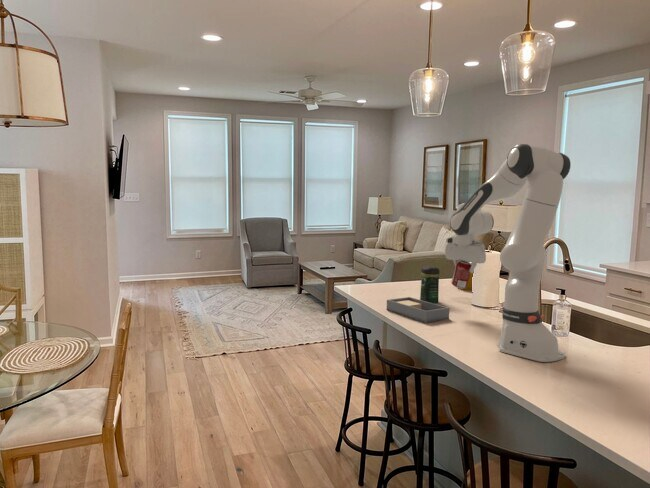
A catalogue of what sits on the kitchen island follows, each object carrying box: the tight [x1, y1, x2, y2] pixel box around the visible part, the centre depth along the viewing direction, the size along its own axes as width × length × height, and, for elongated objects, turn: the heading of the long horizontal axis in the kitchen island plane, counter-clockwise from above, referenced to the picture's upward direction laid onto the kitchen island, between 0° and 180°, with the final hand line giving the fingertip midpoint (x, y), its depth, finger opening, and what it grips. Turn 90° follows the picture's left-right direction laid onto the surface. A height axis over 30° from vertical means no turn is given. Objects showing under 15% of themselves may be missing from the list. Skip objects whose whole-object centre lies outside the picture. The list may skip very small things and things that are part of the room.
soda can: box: [450, 260, 472, 289], centre depth 216 cm, size 7×7×12 cm
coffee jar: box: [419, 265, 441, 304], centre depth 242 cm, size 10×8×19 cm
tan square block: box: [398, 300, 421, 309], centre depth 224 cm, size 9×9×3 cm
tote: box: [386, 296, 450, 324], centre depth 219 cm, size 26×14×5 cm, turn 32°
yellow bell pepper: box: [457, 273, 473, 291], centre depth 272 cm, size 11×11×13 cm
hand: (464, 271), depth 215 cm, fingers closed on soda can, 6 cm apart
